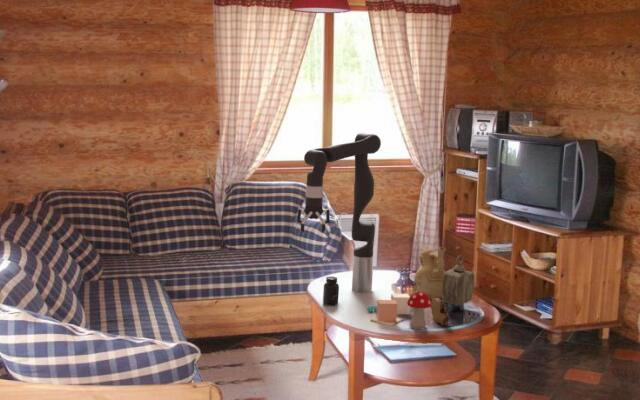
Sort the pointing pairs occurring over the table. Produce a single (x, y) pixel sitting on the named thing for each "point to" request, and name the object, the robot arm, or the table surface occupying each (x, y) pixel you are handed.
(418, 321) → the decorative mushroom
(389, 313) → the peach rectangular brick
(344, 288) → the table surface
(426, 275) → the tan upright figure
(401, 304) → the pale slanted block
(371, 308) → the teal marble
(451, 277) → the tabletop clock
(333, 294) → the supplement bottle
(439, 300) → the wooden carving
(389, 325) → the birch coaster
